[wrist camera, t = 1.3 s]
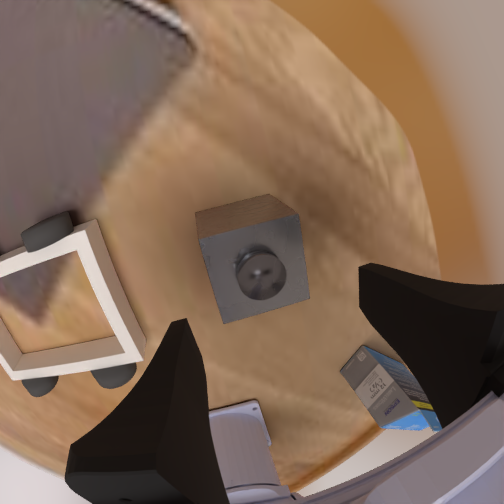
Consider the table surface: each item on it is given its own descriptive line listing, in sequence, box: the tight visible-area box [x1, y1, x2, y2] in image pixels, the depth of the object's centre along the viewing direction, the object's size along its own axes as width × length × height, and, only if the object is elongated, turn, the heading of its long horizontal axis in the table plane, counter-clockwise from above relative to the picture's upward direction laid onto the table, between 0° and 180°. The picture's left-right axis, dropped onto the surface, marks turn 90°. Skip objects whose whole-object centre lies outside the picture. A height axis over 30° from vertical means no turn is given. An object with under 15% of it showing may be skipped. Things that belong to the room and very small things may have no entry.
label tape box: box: [340, 346, 442, 432], centre depth 23 cm, size 9×4×12 cm, turn 55°
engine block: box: [195, 194, 310, 324], centre depth 17 cm, size 5×5×6 cm
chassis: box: [0, 211, 146, 397], centre depth 17 cm, size 12×14×4 cm
